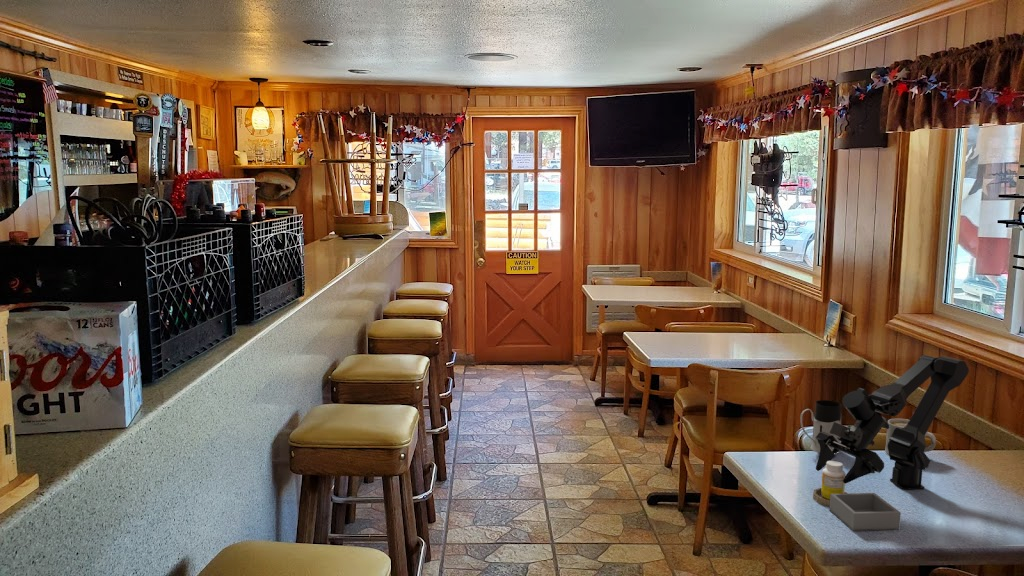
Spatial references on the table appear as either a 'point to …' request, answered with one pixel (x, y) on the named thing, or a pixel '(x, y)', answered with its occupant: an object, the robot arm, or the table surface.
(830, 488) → the supplement bottle
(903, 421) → the coffee mug
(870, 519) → the bin
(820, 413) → the glass holder
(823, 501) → the stud collar
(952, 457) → the table surface
